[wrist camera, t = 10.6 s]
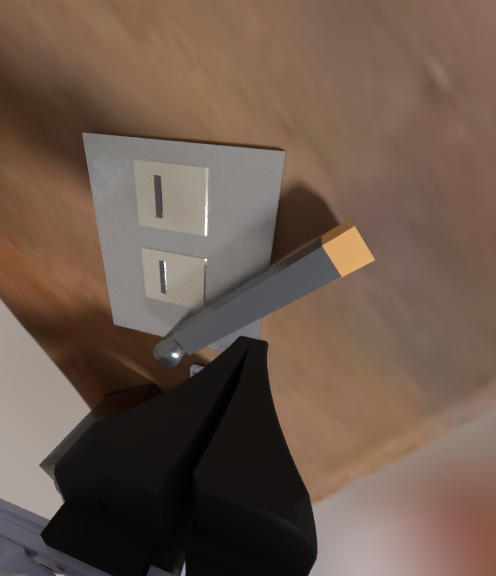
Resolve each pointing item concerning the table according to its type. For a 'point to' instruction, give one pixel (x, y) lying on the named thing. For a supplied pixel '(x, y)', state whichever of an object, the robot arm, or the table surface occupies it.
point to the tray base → (181, 229)
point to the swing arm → (277, 287)
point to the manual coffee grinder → (102, 410)
